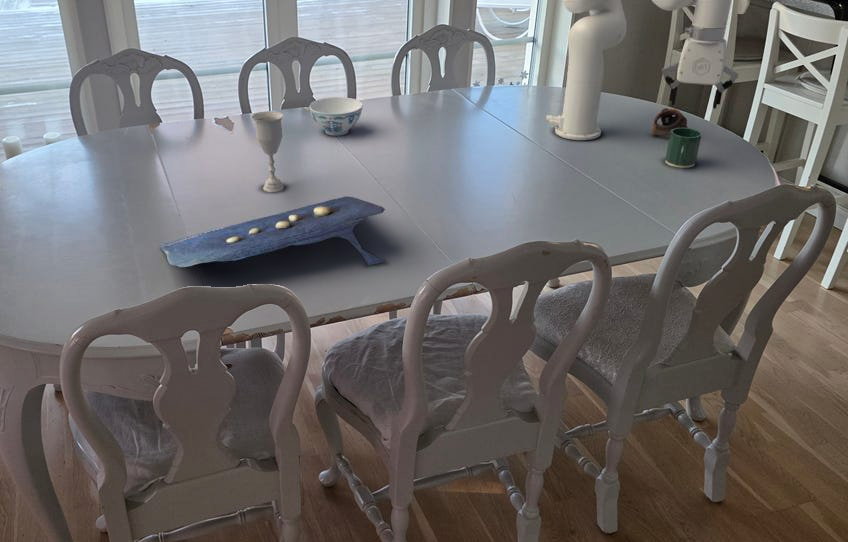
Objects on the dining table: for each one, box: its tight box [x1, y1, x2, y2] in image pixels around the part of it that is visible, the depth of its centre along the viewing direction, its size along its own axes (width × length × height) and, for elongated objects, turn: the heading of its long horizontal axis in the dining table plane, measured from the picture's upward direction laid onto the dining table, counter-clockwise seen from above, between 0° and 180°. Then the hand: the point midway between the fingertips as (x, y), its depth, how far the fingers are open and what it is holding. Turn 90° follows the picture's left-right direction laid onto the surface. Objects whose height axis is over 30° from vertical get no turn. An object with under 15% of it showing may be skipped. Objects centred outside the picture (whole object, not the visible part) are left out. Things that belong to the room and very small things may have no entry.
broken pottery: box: [651, 107, 689, 137], centre depth 218 cm, size 12×10×8 cm
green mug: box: [665, 127, 703, 169], centre depth 198 cm, size 10×7×8 cm
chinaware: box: [309, 96, 364, 137], centre depth 223 cm, size 15×15×8 cm
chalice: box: [251, 110, 285, 193], centre depth 187 cm, size 7×7×18 cm
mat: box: [158, 195, 386, 268], centre depth 163 cm, size 45×27×12 cm, turn 114°
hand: (693, 105), depth 193 cm, fingers open, 9 cm apart
